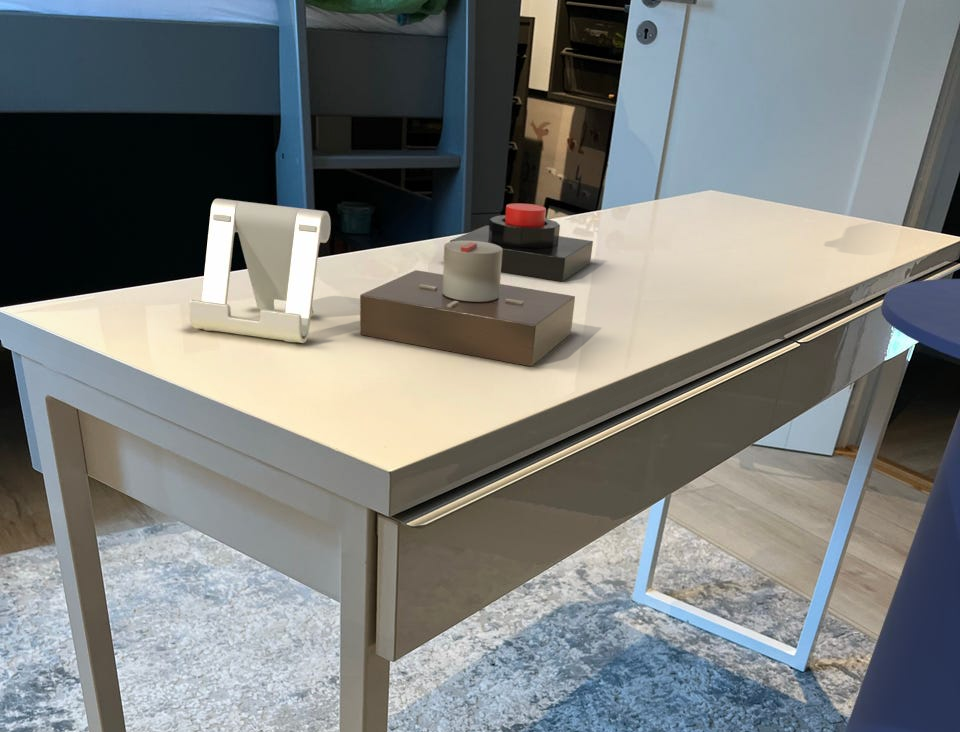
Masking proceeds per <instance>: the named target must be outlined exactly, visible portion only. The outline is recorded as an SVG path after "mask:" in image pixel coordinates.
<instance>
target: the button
mask: <svg viewBox="0 0 960 732" xmlns="http://www.w3.org/2000/svg"><path fill="white" fill-rule="evenodd" d="M504 215H505V222H506V223H509V224H513V225H520V226H544V225H545V219H546V215H547V208H546V207H545V206H542V205H538V204H532V203H515V202H514V203H508V204H506V206H505V214H504Z"/></svg>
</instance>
